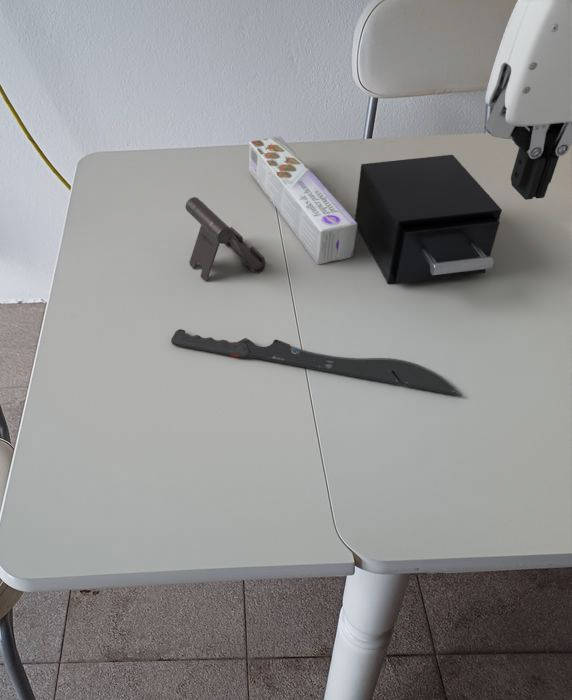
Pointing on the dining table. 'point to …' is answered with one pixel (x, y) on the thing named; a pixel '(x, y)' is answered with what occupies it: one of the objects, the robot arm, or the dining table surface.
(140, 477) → the dining table surface
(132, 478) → the dining table surface
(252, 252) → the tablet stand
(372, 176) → the cabinet
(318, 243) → the box
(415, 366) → the knife
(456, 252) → the drawer
